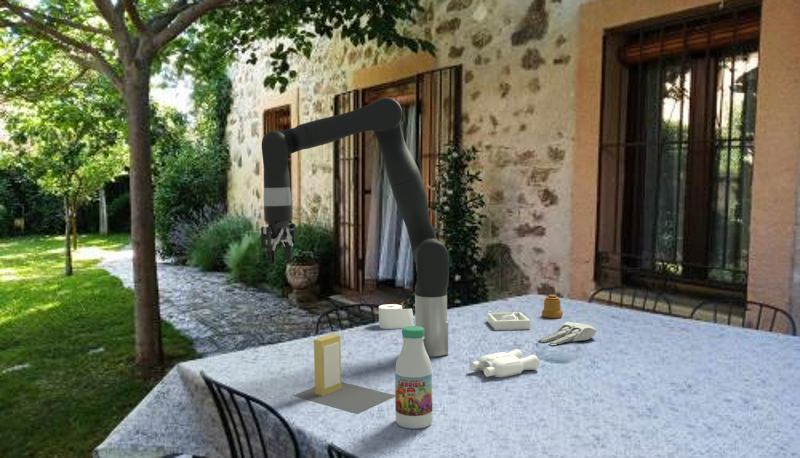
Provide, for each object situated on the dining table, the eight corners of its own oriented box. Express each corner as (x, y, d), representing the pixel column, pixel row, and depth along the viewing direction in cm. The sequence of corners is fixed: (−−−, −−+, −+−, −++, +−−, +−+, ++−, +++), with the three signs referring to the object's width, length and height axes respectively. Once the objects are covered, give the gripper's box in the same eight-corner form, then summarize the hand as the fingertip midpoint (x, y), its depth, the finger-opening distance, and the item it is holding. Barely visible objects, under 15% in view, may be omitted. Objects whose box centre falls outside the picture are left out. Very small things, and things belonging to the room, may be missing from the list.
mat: (292, 397, 145) (292, 395, 145) (333, 381, 156) (333, 379, 156) (357, 415, 133) (357, 413, 133) (397, 397, 144) (396, 395, 144)
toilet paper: (413, 327, 213) (413, 307, 213) (381, 329, 211) (381, 309, 210) (408, 322, 221) (407, 303, 221) (377, 324, 219) (376, 304, 218)
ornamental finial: (559, 314, 231) (564, 318, 224) (539, 314, 231) (544, 319, 224) (560, 293, 231) (565, 296, 223) (539, 293, 231) (544, 297, 223)
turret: (534, 348, 194) (532, 333, 193) (579, 330, 204) (578, 316, 203) (557, 355, 186) (555, 340, 185) (603, 336, 195) (602, 322, 194)
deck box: (315, 393, 146) (313, 339, 145) (334, 386, 151) (332, 333, 150) (322, 396, 145) (321, 341, 144) (341, 388, 150) (340, 335, 149)
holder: (520, 320, 222) (520, 312, 221) (530, 329, 209) (530, 320, 208) (487, 321, 221) (487, 313, 221) (494, 330, 208) (494, 321, 208)
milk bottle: (394, 416, 133) (393, 324, 131) (430, 414, 133) (429, 323, 132) (397, 430, 125) (395, 333, 123) (435, 429, 126) (434, 331, 124)
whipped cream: (513, 331, 210) (514, 318, 209) (494, 327, 213) (495, 314, 212) (522, 325, 217) (523, 312, 216) (504, 321, 220) (504, 308, 219)
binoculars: (540, 372, 163) (540, 354, 163) (492, 383, 155) (492, 364, 154) (513, 362, 172) (513, 346, 171) (466, 372, 164) (466, 354, 163)
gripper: (275, 205, 164) (277, 266, 165) (302, 202, 177) (304, 259, 179) (251, 205, 167) (253, 265, 168) (280, 203, 180) (282, 258, 181)
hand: (280, 262), depth 173 cm, fingers open, 8 cm apart
